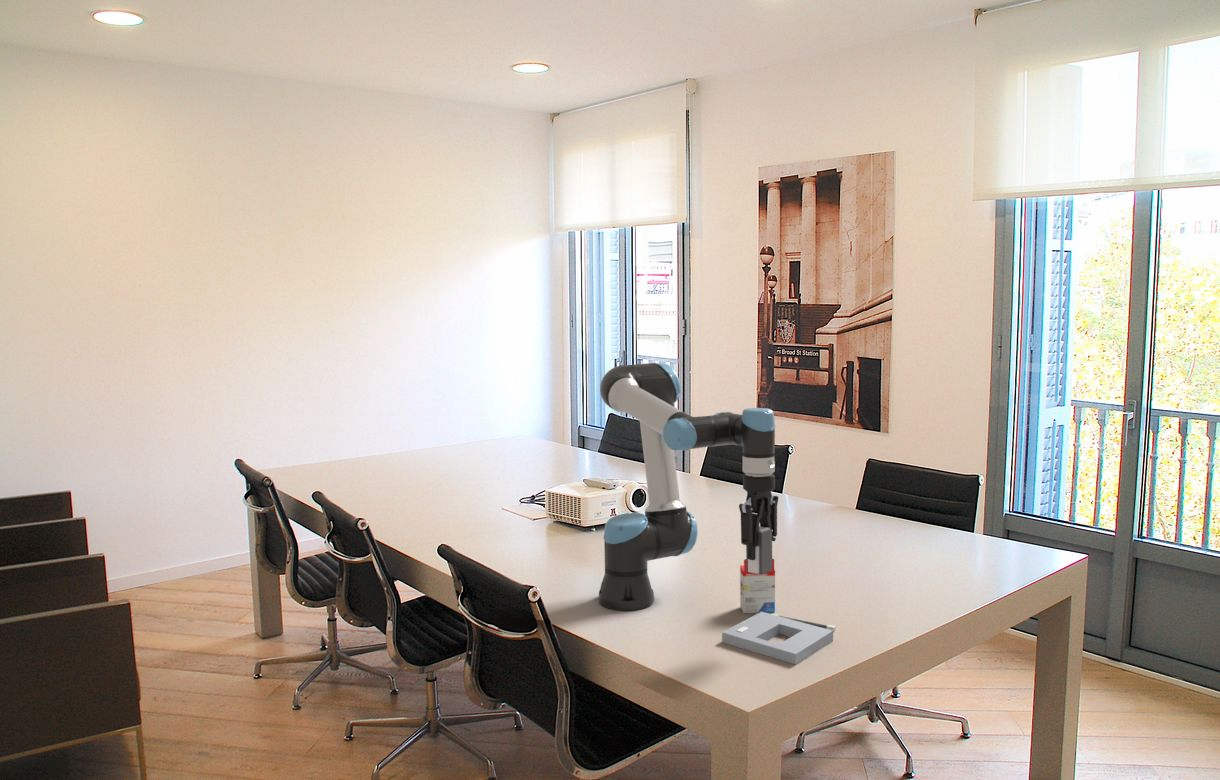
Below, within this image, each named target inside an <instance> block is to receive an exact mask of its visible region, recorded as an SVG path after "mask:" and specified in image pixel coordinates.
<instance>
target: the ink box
mask: <svg viewBox="0 0 1220 780" xmlns="http://www.w3.org/2000/svg"><path fill="white" fill-rule="evenodd" d="M739 567H740V568H739V569H740V570H739V573H740V574H739V576H740V577H739V578H740V579H739V580H740V581H739V583H740V585H739V590H740V591H739V592H740V593H739V594H740V595H739V597H740V605H739V607H740V609H741V611H742V613H743V614H758V613H760V612H765V613H769V614H772V613H774V614H775V613H776V612H775V611H776V570H775V558H772V571H770V572H768V573H765V574H763V575H761V574H756V573H752V572H747V570H746V558H745V559H743V565H742V564H741V565H740V566H739Z"/></svg>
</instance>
